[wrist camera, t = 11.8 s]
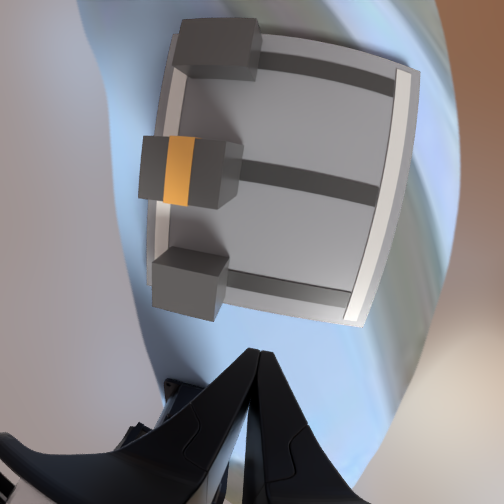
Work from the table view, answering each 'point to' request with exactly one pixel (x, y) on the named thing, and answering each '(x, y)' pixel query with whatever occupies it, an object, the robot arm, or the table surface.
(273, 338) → the table surface
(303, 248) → the panel
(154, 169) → the block
